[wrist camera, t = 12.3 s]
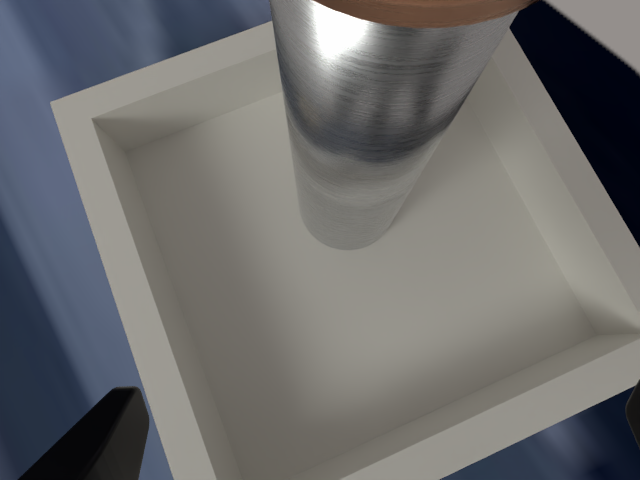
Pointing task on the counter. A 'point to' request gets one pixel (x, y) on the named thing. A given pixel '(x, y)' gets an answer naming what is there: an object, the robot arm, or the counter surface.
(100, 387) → the counter surface
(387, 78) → the metal pin
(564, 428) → the counter surface
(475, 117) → the tray
